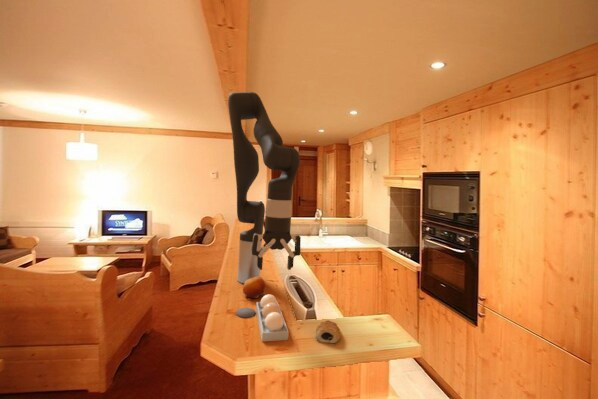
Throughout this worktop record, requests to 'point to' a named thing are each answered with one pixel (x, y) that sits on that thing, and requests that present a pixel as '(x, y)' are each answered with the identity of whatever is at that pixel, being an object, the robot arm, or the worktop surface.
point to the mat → (245, 312)
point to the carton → (267, 334)
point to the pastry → (328, 332)
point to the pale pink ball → (270, 309)
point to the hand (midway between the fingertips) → (275, 269)
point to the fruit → (254, 287)
